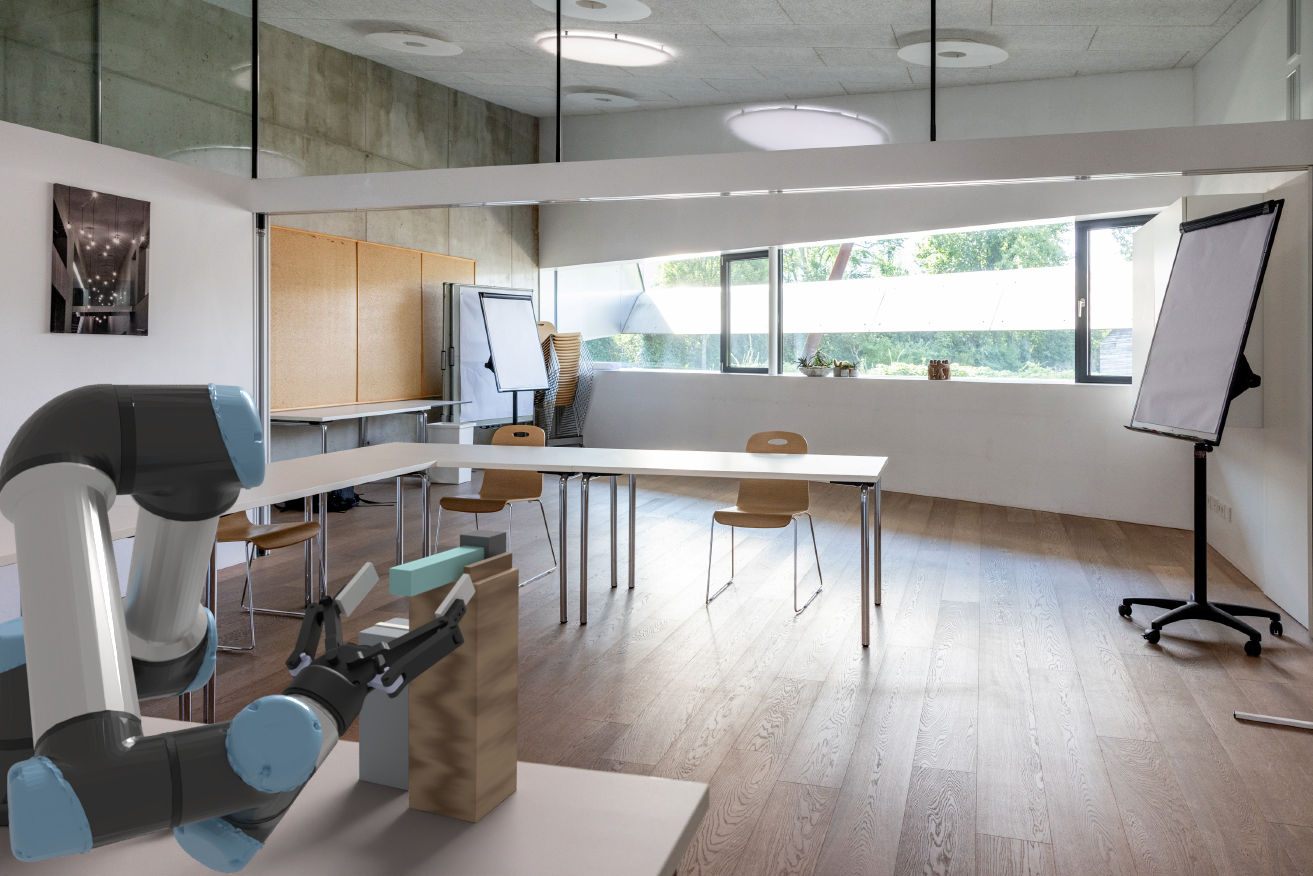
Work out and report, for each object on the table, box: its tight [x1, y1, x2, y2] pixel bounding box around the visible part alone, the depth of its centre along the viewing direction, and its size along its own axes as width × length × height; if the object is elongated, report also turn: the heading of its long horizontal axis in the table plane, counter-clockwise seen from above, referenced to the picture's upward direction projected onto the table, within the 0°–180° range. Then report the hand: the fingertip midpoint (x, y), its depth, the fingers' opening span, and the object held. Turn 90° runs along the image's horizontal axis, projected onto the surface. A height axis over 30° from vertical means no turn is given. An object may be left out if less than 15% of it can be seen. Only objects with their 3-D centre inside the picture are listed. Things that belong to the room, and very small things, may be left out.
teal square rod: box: [388, 529, 507, 598], centre depth 117 cm, size 4×20×4 cm, turn 159°
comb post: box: [408, 551, 520, 823], centre depth 121 cm, size 10×10×32 cm
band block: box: [358, 617, 409, 791], centre depth 129 cm, size 8×8×21 cm
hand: (420, 576), depth 111 cm, fingers open, 13 cm apart
